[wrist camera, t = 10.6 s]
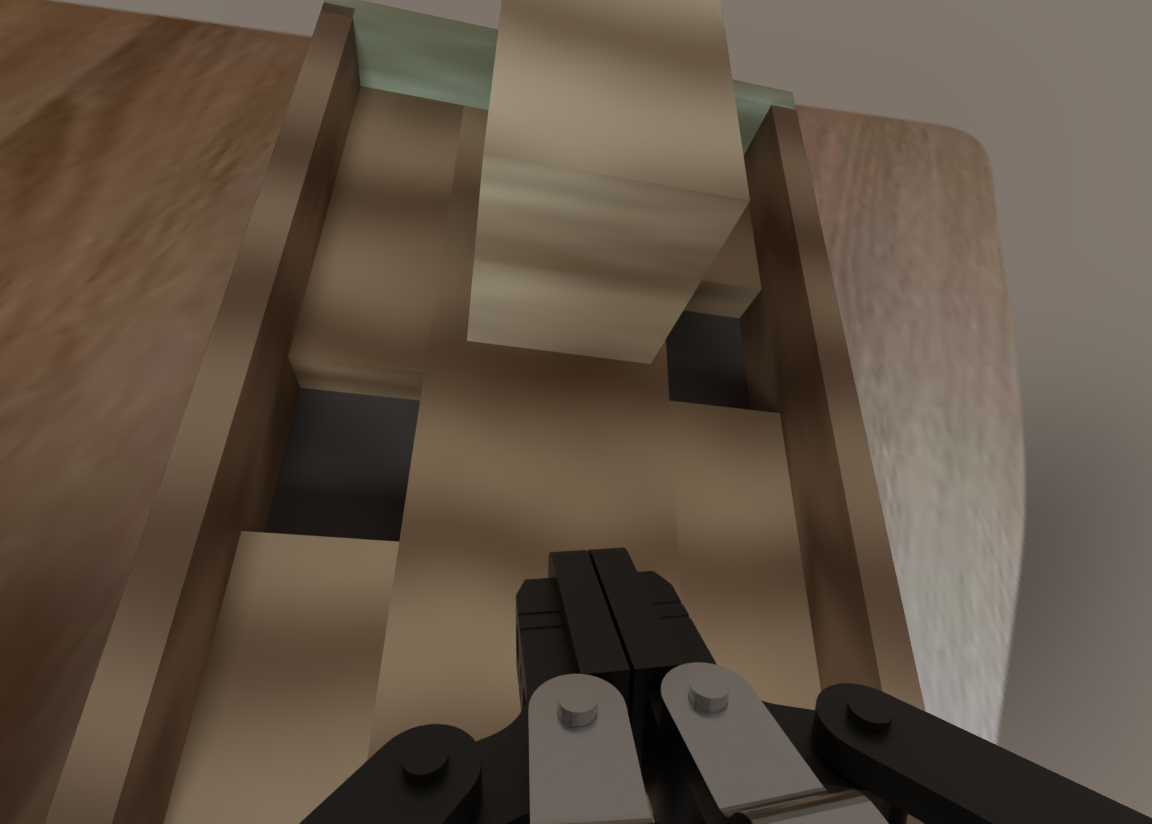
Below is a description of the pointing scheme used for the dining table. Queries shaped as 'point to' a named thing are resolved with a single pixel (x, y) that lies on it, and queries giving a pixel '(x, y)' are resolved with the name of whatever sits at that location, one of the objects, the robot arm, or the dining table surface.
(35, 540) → the dining table surface
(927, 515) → the dining table surface
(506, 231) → the beech block
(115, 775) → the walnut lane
